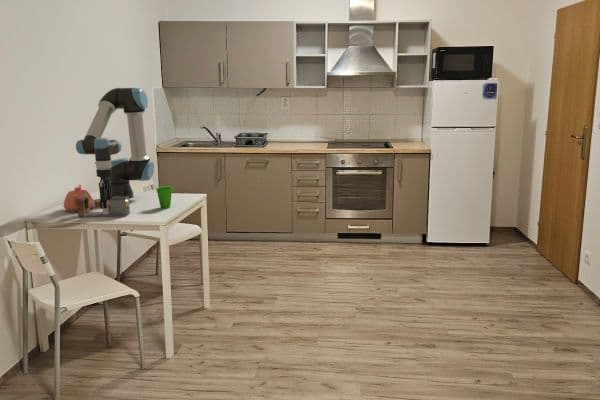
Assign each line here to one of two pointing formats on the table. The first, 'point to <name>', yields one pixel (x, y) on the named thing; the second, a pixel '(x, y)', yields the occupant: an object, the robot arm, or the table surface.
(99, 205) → the tube
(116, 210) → the sleeve
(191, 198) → the table surface
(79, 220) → the table surface
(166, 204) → the cup
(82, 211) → the socket
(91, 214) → the base board
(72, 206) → the teapot
